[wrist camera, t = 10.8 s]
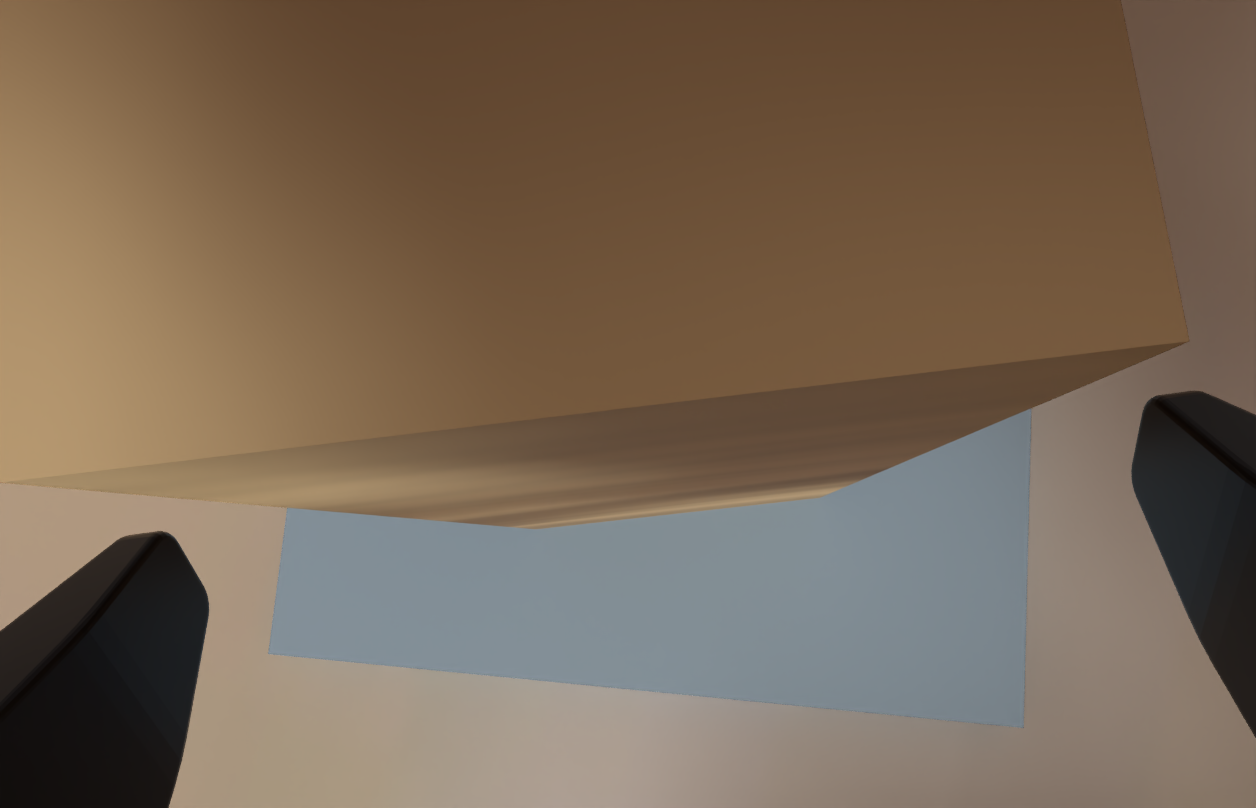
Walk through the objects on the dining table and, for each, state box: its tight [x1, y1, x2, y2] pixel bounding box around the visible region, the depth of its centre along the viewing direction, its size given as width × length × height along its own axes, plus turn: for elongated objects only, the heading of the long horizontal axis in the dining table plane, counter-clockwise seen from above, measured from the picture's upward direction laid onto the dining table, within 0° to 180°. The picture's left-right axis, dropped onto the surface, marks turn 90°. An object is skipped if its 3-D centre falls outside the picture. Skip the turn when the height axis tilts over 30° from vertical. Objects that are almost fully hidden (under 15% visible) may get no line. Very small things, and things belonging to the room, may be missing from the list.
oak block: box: [0, 0, 1189, 529], centre depth 11 cm, size 5×5×13 cm
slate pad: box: [268, 409, 1031, 728], centre depth 17 cm, size 11×13×1 cm
